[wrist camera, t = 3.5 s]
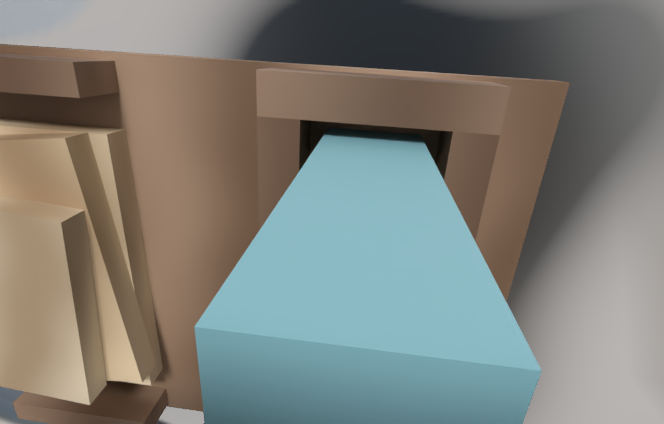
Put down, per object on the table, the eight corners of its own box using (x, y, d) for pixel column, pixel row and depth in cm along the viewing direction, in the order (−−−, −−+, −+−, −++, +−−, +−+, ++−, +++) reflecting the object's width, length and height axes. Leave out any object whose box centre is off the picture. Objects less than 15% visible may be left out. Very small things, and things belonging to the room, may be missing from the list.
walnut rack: (56, 372, 16) (7, 420, 14) (-46, 40, 11) (-146, 37, 9) (459, 429, 15) (473, 492, 13) (555, 80, 10) (604, 88, 8)
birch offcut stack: (37, 351, 15) (-23, 403, 12) (-39, 114, 11) (-142, 129, 9) (170, 369, 14) (132, 427, 12) (135, 128, 11) (72, 148, 8)
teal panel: (314, 399, 14) (243, 781, 7) (328, 127, 10) (193, 326, 3) (379, 408, 14) (380, 812, 6) (420, 134, 10) (542, 371, 3)
